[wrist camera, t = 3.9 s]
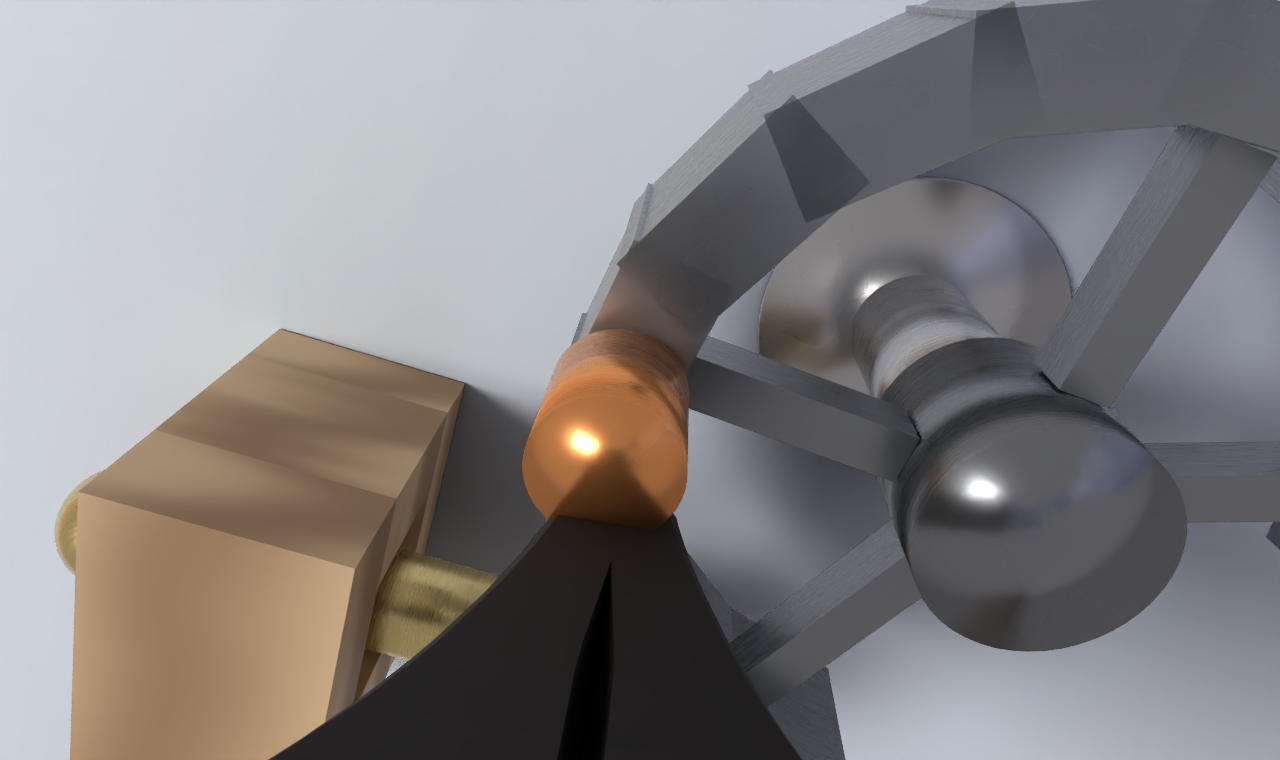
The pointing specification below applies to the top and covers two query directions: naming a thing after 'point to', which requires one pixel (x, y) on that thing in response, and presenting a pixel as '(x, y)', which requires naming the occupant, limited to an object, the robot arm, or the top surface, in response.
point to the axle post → (910, 283)
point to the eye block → (251, 554)
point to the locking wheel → (956, 373)
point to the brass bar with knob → (405, 600)
